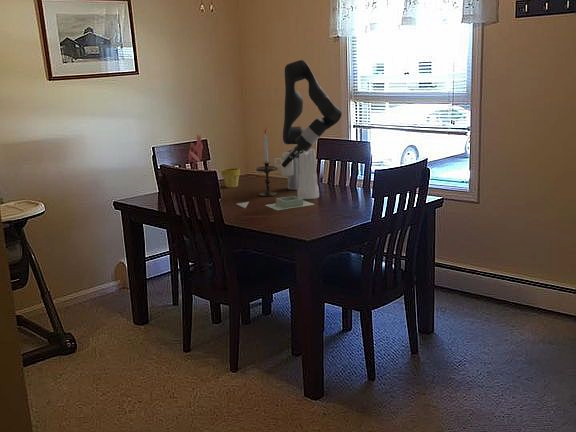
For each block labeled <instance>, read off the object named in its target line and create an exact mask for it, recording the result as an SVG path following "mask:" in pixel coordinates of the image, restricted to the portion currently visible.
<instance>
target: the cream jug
mask: <svg viewBox="0 0 576 432" xmlns="http://www.w3.org/2000/svg"><path fill="white" fill-rule="evenodd" d="M289 153H290V152H288V151H284V152H281V157H282V158H281V157H277V158H276V157H275V158H274V166H275V167H277V168H280V176H282V177H287V176H292V175H294V168H293V160H292V161H291V162H289V164H288V165H287V166H286V167H283V166H282V165H281V164H282V163H283V162H284V161H285V160H286V158H287V157H288V156H289ZM290 158H291V156H290ZM291 159H292V158H291ZM278 161H280V164H278Z"/></svg>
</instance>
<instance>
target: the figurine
mask: <svg viewBox="0 0 576 432" xmlns="http://www.w3.org/2000/svg"><path fill="white" fill-rule="evenodd" d="M201 137H202V136H201V134H198V133H197V134H196V145H195V144H194V143H193V142H190V147H189V151H188V156H187V157H188V164H189V165H190V164H191V161H192V162H193V163H195V165H196V164H197V165H196V167H197V168H196V171H197V170H198V171H199V164H201V163H202V162H201V161H202V158H203V156H202V154H203V153H202V152H203V148H204V146H203V143H202V138H201ZM192 149H193V151H192ZM195 152H196V153H197V154H195ZM192 158H193V159H194V160H193V159H192Z"/></svg>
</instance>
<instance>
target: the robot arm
mask: <svg viewBox="0 0 576 432" xmlns="http://www.w3.org/2000/svg"><path fill="white" fill-rule="evenodd" d="M303 80H305V81H307V82H308V96H309V98H310V100H311V101H312V102H313V104H314V105H315V106H316V107H317V110H319V112H320V114H321V115H322V116H323V117H322V118H315V119H314V120H313V121H312V122H311V123H310V125H308V126H307V127H306V128H305V129H303V127H302V126H300V125H299V126H292V125H293V124H294V123H295V122H296V120H298V118H299V117H301V114H302V112H303V108H304V100H303V96H302V95H301V93H300V92H299V91H298V90H297V89H296V88H295V87H296V86H295V85H296V83H297V82H300V81H303ZM284 84H285V85H284V87H285V88H284V89H285V91H284V95H285V96H284V117H283V118H284V119H283V120H284V121H283V129H282V141H283V143H284V144H286V145H296V146H293V148H292V149H290V150H287V152H290V153H289V156H288V157H287V158H286V160H285V161H284V162H283V163H282V164H281V163H280V165H282V166H283V167H286V166H287V165H288V164H289V162H291V161H292V160H293V168H294V175H292V176H286V177H287V189H288V190H292V191H298V187H299V174H300V166H299V155H300V154H302V153H303V152H304V151H305V152H306V151H309V149H311V148H312V147H313V146H314V144H315V143H316V142H317V141H318V139H319V138H321V136H322V135H323V134H324V133H325V131H327V130H328V129H330V128H331V127H333V126H334V125H336V124H337V123H338V122H339V121H340V119H341V118H342V113H343V112H342V110H341V109H340V108H339V107H338V106H336V105H335V104H334V103H333V102H332V101H331V99H330V97H329V95H328V94H327V92H325V90H324V89H323V88H322V87H321V85H320V84H319V82H318V81H317V77H315V75H314V73H313V71H312V70H311V68H310V65H308V63H307V62H306V61H305V60H303V59H300V60H295V61H292V62H290V63H287V64H286V65H285V66H284ZM290 156H291V158H292V159H291V158H290Z"/></svg>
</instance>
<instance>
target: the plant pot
mask: <svg viewBox="0 0 576 432" xmlns="http://www.w3.org/2000/svg"><path fill="white" fill-rule="evenodd" d="M220 172H221V177H223V182H224V185H225V188H237V187H238V186H239V178H240V175H241V169H240V168H238V167H230V168H229V167H228V168H224V169H221V171H220Z"/></svg>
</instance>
